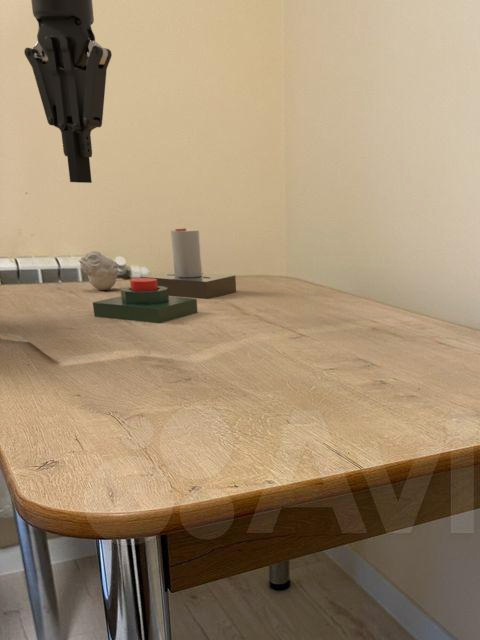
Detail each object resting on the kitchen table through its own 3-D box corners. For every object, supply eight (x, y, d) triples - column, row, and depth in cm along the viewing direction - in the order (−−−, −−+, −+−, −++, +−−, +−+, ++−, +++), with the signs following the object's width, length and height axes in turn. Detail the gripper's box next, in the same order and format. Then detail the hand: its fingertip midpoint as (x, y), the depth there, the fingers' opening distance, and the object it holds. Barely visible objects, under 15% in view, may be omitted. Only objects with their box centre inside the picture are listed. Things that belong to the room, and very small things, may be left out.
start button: (125, 292, 108) (124, 280, 108) (142, 288, 112) (141, 277, 111) (147, 294, 107) (146, 282, 106) (163, 290, 110) (162, 279, 110)
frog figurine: (78, 289, 133) (73, 250, 130) (115, 286, 137) (111, 249, 134) (88, 293, 129) (83, 253, 126) (126, 290, 133) (122, 252, 130)
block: (94, 316, 108) (90, 290, 107) (136, 306, 117) (133, 282, 115) (159, 323, 104) (156, 295, 103) (197, 312, 113) (195, 287, 111)
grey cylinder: (185, 273, 134) (181, 226, 130) (207, 275, 132) (204, 228, 129) (169, 276, 129) (164, 228, 126) (191, 278, 128) (188, 229, 124)
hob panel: (142, 293, 130) (140, 275, 129) (174, 286, 138) (172, 269, 137) (207, 299, 125) (205, 280, 124) (236, 291, 134) (235, 274, 133)
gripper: (-1, -18, 91) (25, 180, 100) (79, -24, 87) (99, 183, 96) (43, -4, 98) (64, 181, 107) (120, -9, 93) (135, 184, 103)
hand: (81, 182), depth 101 cm, fingers closed
